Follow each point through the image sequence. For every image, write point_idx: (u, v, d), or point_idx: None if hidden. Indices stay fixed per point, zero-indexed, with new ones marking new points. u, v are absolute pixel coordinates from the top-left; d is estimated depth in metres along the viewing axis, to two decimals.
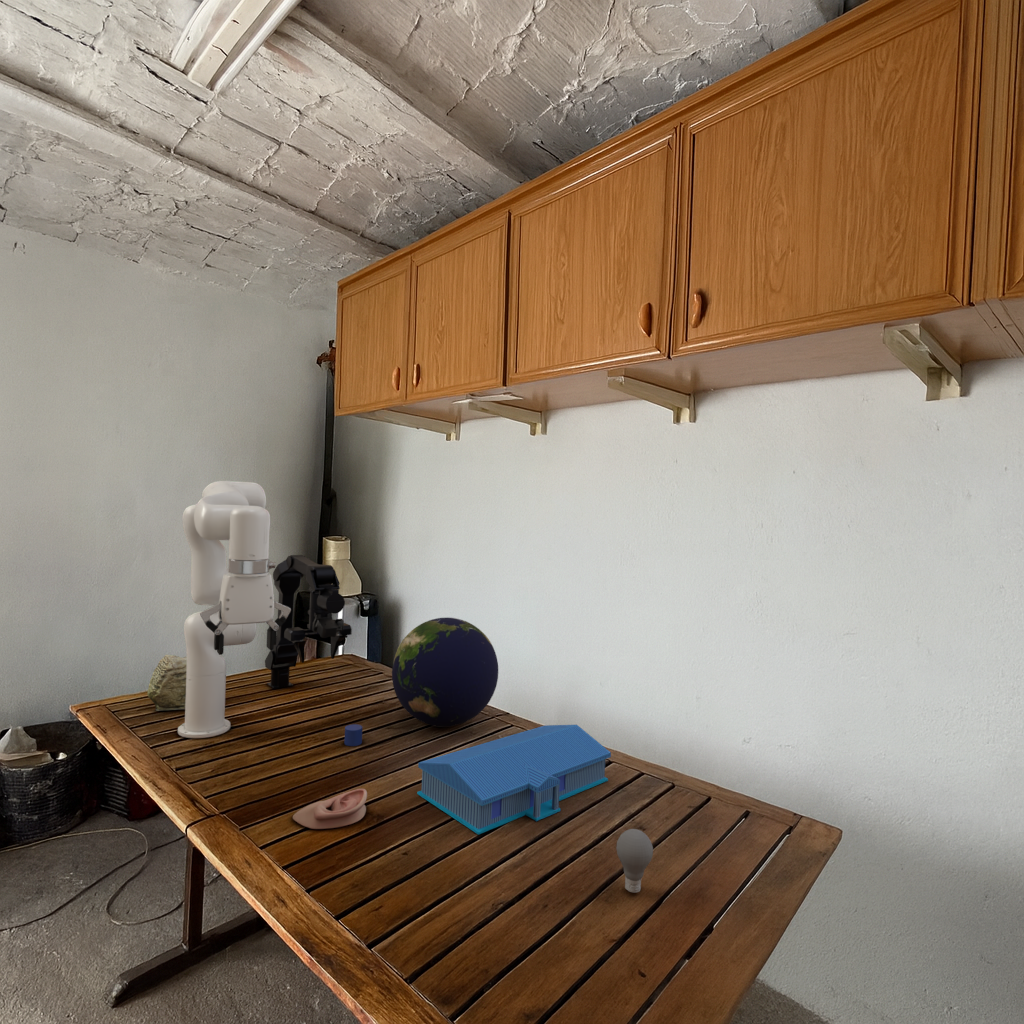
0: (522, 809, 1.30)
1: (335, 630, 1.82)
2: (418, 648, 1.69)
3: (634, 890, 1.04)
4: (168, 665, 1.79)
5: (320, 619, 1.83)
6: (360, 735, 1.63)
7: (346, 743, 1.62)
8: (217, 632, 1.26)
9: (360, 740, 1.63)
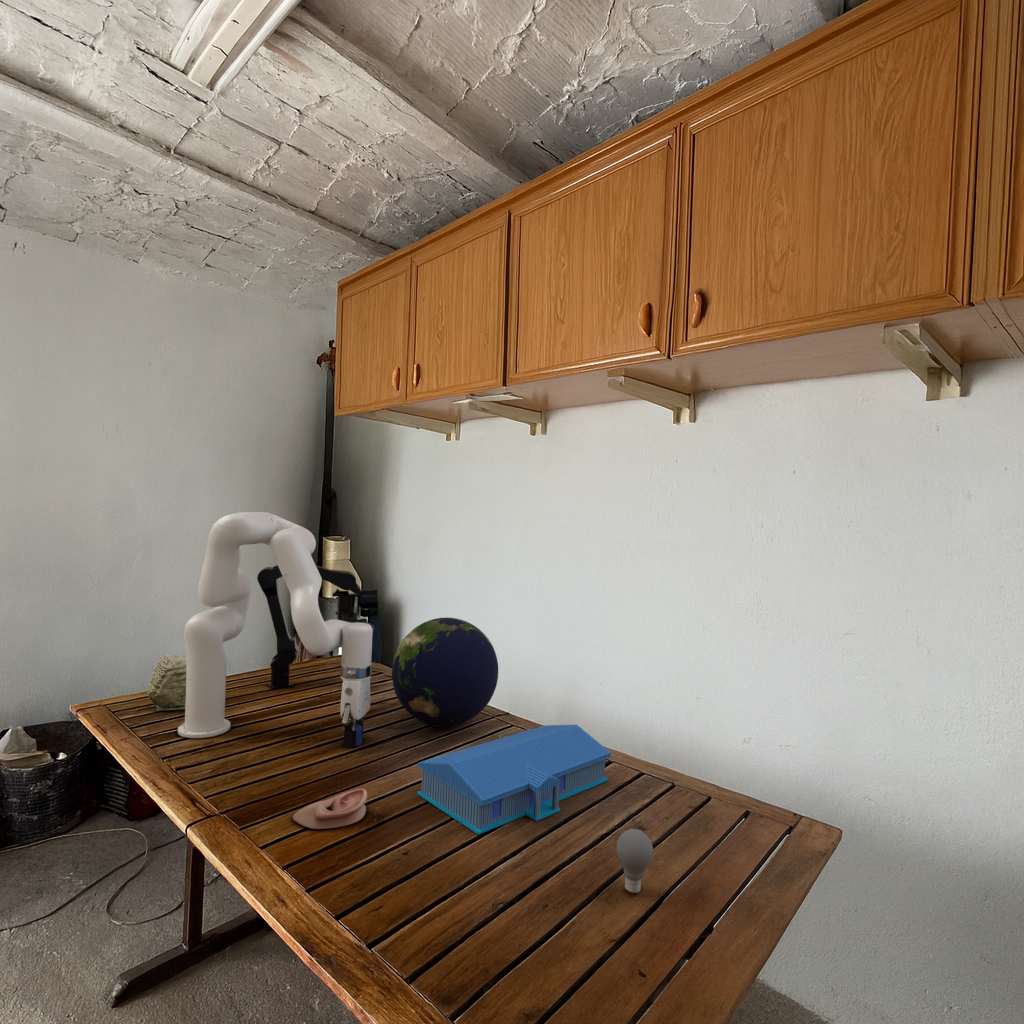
0: (522, 809, 1.30)
1: None
2: (418, 648, 1.69)
3: (634, 890, 1.04)
4: (168, 665, 1.79)
5: (347, 619, 2.10)
6: (360, 735, 1.63)
7: None
8: None
9: (360, 740, 1.63)
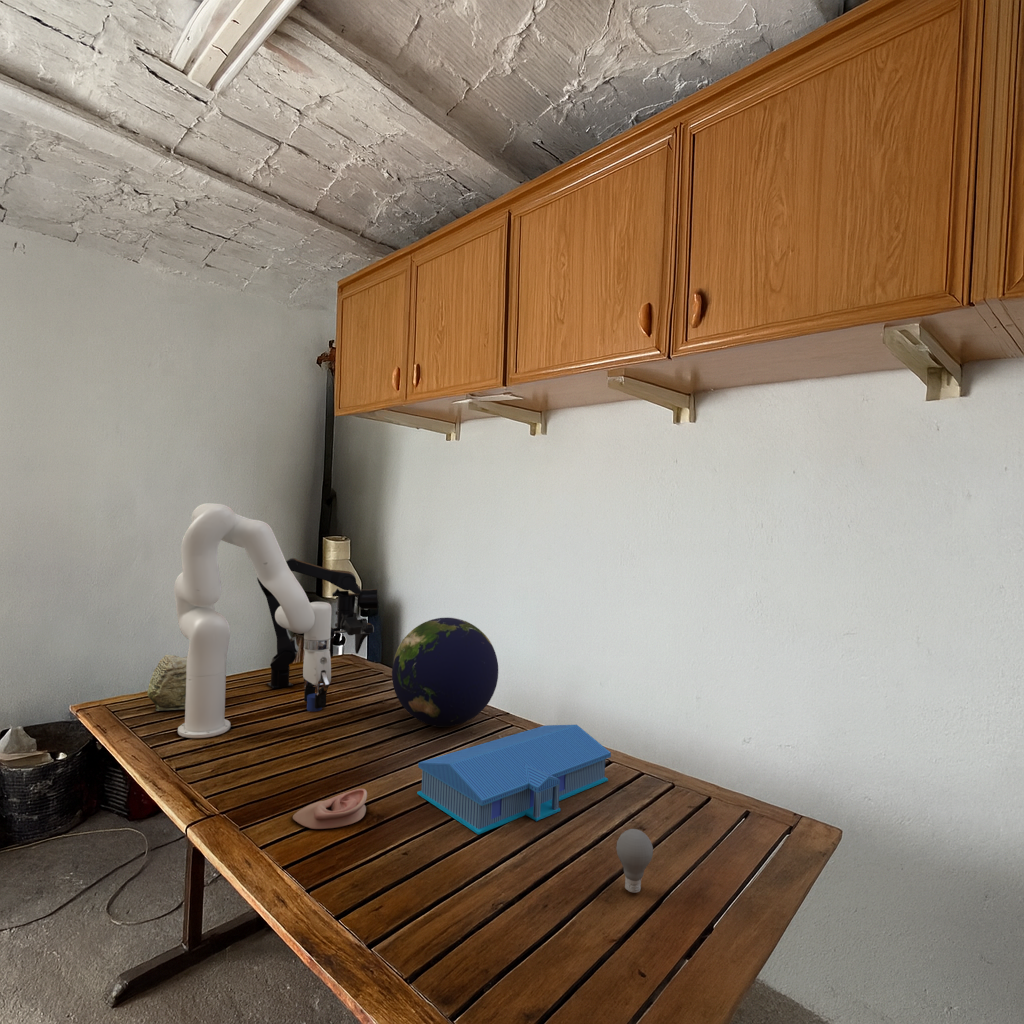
0: (522, 809, 1.30)
1: (360, 628, 2.08)
2: (418, 648, 1.69)
3: (634, 890, 1.04)
4: (168, 665, 1.79)
5: (347, 619, 2.10)
6: None
7: (313, 710, 1.85)
8: (305, 686, 1.90)
9: None
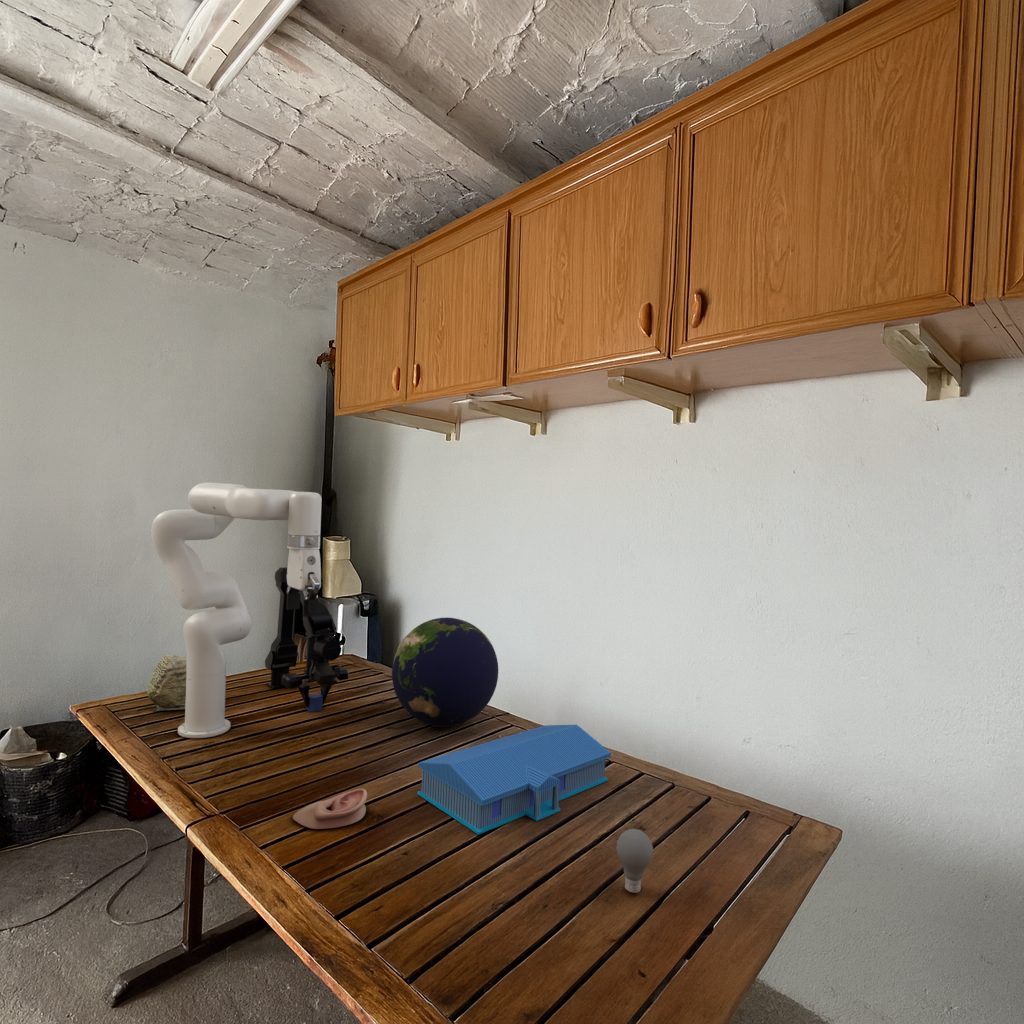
0: (522, 809, 1.30)
1: (332, 677, 1.82)
2: (418, 648, 1.69)
3: (634, 890, 1.04)
4: (168, 665, 1.79)
5: (317, 665, 1.84)
6: None
7: (313, 709, 1.85)
8: (287, 591, 1.57)
9: None
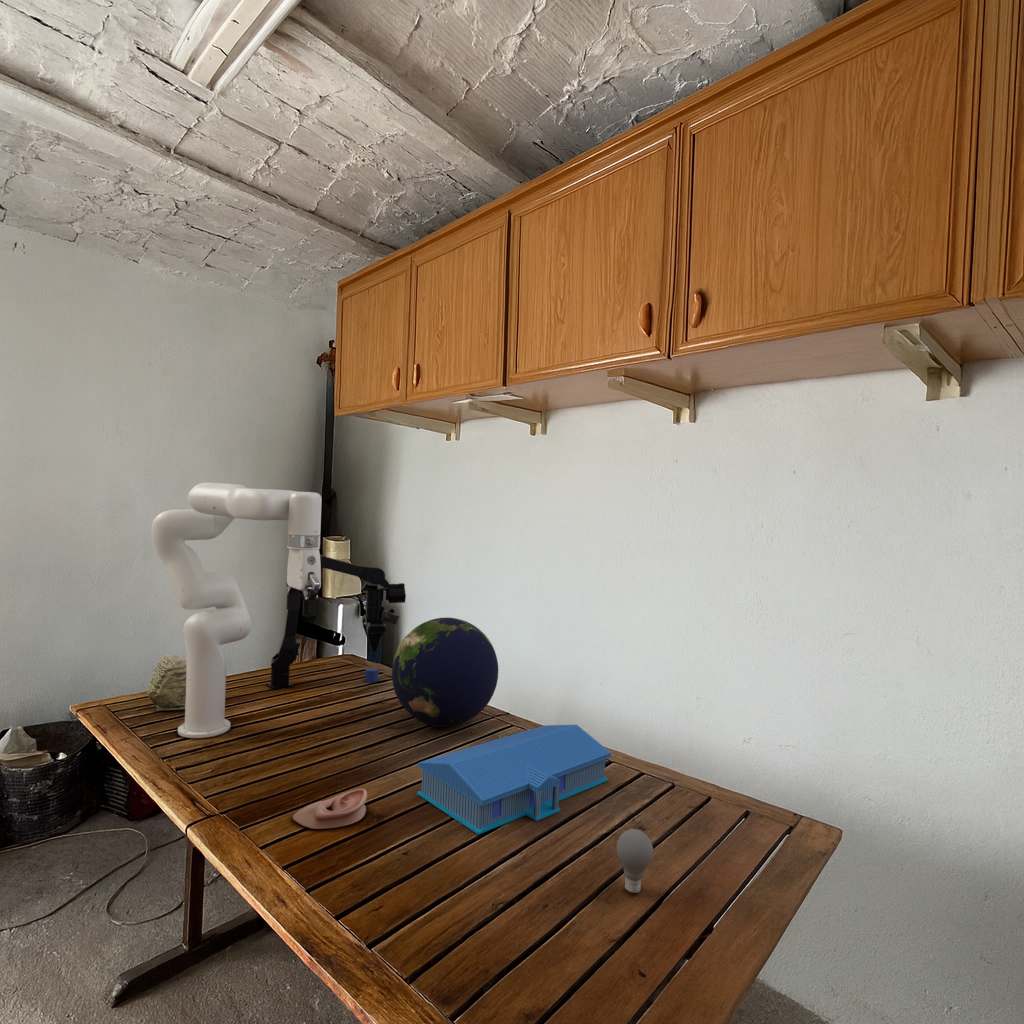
0: (522, 809, 1.30)
1: None
2: (418, 648, 1.69)
3: (634, 890, 1.04)
4: (168, 665, 1.79)
5: (385, 611, 2.18)
6: None
7: (377, 680, 2.18)
8: (287, 591, 1.57)
9: None
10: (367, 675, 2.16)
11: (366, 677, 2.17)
